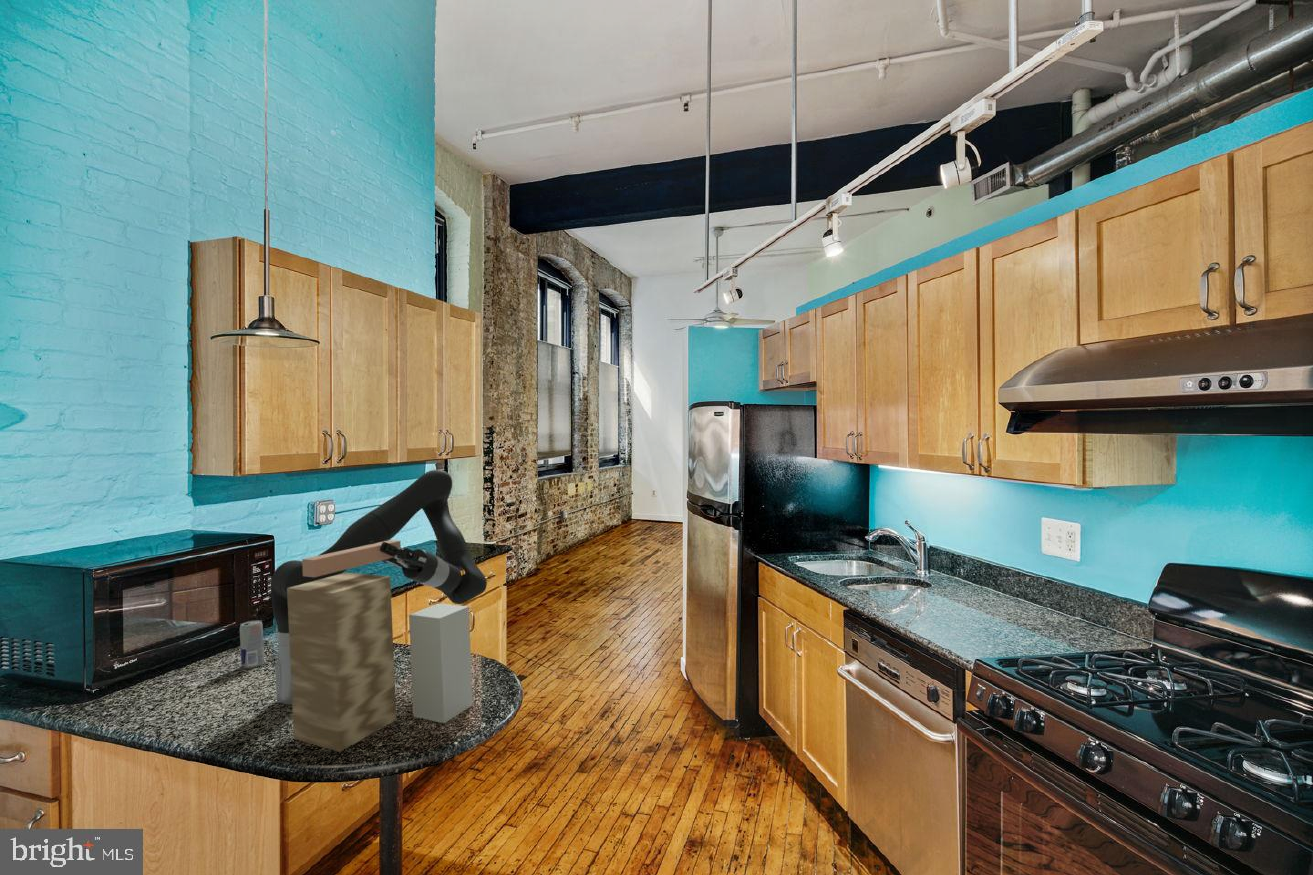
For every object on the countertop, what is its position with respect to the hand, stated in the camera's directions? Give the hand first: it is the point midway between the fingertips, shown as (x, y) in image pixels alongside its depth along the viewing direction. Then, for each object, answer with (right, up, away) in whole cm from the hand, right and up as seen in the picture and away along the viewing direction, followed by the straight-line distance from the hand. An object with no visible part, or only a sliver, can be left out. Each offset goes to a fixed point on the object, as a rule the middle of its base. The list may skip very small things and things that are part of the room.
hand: (376, 545), depth 137 cm
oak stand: (-2, -38, -8) cm, 39 cm away
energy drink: (-50, -40, +32) cm, 71 cm away
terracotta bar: (-2, -3, -5) cm, 6 cm away
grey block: (+16, -37, -1) cm, 41 cm away
